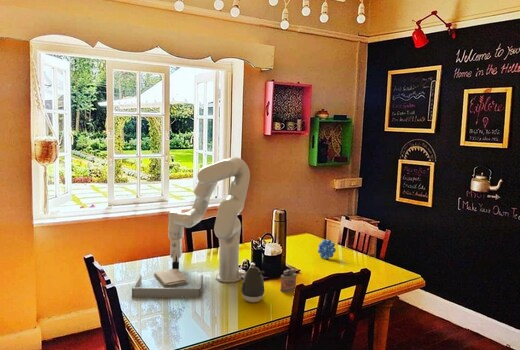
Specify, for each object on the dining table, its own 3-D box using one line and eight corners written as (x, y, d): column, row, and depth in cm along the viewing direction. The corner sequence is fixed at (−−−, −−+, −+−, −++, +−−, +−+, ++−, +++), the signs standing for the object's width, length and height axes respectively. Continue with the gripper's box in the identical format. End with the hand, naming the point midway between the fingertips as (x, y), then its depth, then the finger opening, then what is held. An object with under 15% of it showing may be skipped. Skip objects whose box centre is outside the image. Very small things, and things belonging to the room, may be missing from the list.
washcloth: (165, 289, 201) (165, 283, 200) (153, 276, 216) (153, 270, 215) (189, 284, 207) (189, 278, 207) (175, 272, 222) (175, 266, 222)
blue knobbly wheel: (338, 260, 249) (340, 239, 247) (332, 262, 244) (333, 242, 242) (321, 255, 257) (323, 235, 255) (315, 257, 252) (316, 237, 250)
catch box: (202, 283, 208) (202, 275, 208) (200, 297, 193) (200, 288, 192) (139, 282, 206) (139, 274, 206) (131, 296, 191) (131, 288, 190)
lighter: (282, 293, 201) (283, 272, 199) (278, 290, 204) (279, 269, 202) (297, 290, 204) (298, 269, 203) (293, 287, 207) (294, 267, 206)
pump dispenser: (256, 307, 185) (257, 273, 183) (236, 300, 190) (237, 267, 188) (268, 299, 194) (270, 266, 191) (249, 293, 199) (250, 261, 197)
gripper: (181, 239, 213) (181, 274, 215) (185, 230, 228) (184, 264, 230) (166, 238, 212) (165, 274, 215) (170, 230, 227) (170, 264, 230)
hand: (175, 269), depth 223 cm, fingers closed
